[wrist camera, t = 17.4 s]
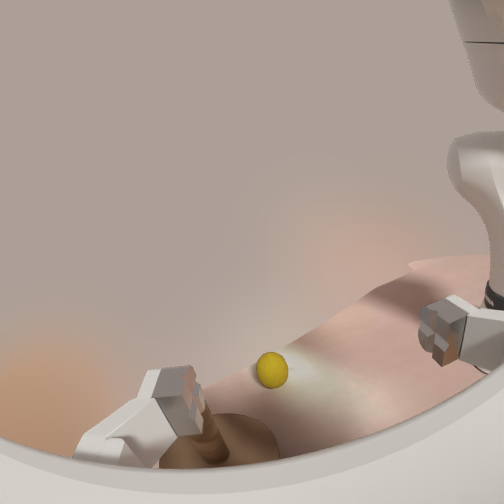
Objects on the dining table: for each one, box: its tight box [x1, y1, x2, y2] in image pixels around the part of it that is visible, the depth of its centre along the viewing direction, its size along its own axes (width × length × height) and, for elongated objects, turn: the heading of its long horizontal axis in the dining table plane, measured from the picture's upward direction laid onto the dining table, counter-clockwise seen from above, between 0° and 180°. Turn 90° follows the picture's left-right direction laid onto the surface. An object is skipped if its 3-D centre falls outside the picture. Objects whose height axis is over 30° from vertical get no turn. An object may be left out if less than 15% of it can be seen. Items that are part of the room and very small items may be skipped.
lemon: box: [256, 352, 288, 388], centre depth 46 cm, size 6×6×8 cm
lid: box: [159, 399, 279, 469], centre depth 28 cm, size 16×16×12 cm
